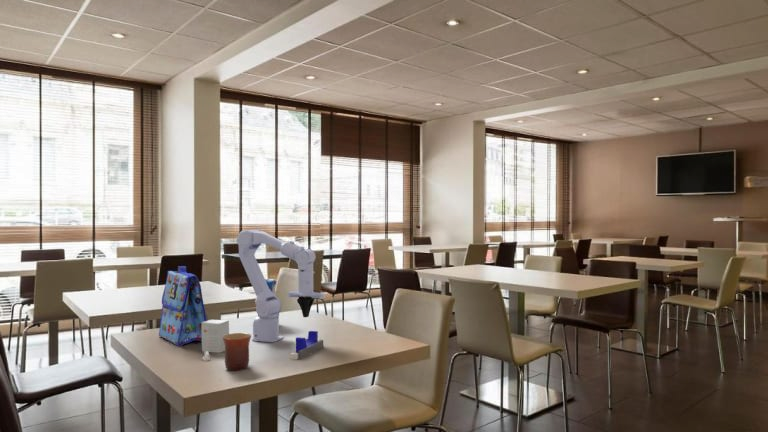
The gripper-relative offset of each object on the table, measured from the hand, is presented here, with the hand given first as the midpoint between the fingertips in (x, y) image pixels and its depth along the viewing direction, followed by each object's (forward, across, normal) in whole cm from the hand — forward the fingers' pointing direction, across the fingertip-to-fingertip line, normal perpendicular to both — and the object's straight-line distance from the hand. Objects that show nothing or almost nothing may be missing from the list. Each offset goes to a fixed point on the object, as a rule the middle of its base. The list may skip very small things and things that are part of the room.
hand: (305, 316), depth 197 cm
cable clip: (+10, +5, -10) cm, 16 cm away
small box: (+10, -26, -20) cm, 34 cm away
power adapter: (+11, -22, -32) cm, 41 cm away
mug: (+10, -6, -35) cm, 37 cm away
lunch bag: (+10, -49, -9) cm, 51 cm away
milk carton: (+10, -31, +22) cm, 39 cm away
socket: (+10, +7, -12) cm, 17 cm away
